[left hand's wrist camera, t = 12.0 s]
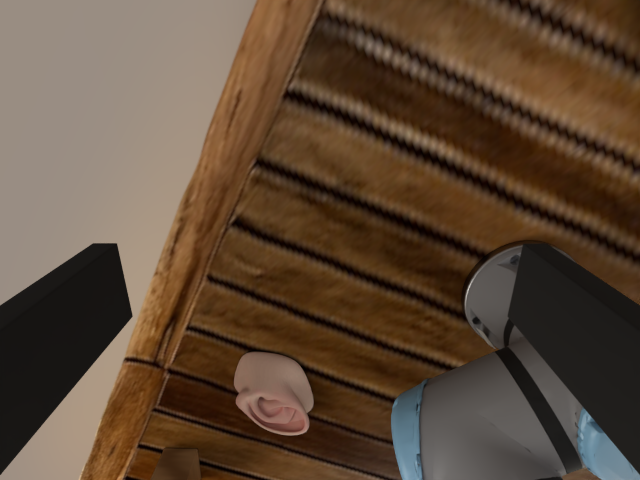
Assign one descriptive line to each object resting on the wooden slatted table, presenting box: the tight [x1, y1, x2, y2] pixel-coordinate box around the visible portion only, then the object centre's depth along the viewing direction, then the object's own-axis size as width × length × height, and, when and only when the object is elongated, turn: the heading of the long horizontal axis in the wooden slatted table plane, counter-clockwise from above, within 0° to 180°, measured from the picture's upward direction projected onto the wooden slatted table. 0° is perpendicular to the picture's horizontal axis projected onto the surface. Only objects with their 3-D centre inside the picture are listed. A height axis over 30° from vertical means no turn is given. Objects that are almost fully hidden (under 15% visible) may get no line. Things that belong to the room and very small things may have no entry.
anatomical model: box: [234, 352, 314, 435], centre depth 55 cm, size 13×4×12 cm
